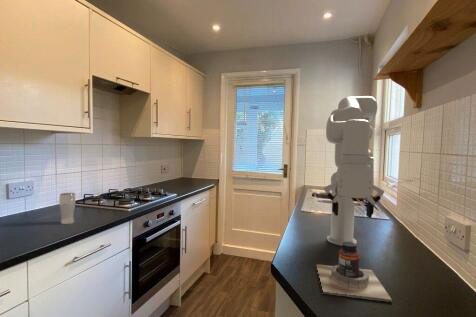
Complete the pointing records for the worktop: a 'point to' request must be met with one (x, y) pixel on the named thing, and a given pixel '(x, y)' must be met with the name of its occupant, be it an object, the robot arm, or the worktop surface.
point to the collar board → (351, 283)
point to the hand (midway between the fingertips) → (352, 215)
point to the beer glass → (67, 207)
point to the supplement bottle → (349, 260)
